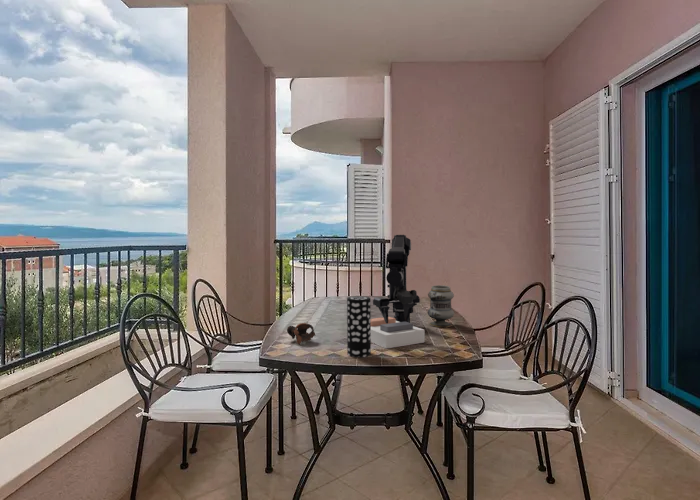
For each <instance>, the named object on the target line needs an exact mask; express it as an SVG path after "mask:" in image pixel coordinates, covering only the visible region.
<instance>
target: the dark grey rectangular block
mask: <svg viewBox="0 0 700 500" xmlns="http://www.w3.org/2000/svg"><path fill="white" fill-rule="evenodd" d="M413 326H414V323H412V322H410V323H409V322H398V323H390V324H382V325H380V330H381V331H384V332H387V333H388V332H395V331H402V330H410V329H413Z"/></svg>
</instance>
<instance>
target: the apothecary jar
mask: <svg viewBox="0 0 700 500" xmlns="http://www.w3.org/2000/svg"><path fill="white" fill-rule="evenodd" d="M427 296H428V299H430V307H429V309H427V316H429V318H431V319H432V320H433V321H432V322H430V323H429V325H430V326H432V327H436V328H449V327H452V324H451V323H450V322H448V321H447V320H450V319H451V318H453V317H454V315H455V311H454V310H453V309H452V299H453V298H454V297H455V293H454V292H453V291H452V290H451V286H449V285H443V284H441V285H433V286H431V289H430V290H429V291H428V292H427Z"/></svg>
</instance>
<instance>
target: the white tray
mask: <svg viewBox="0 0 700 500" xmlns="http://www.w3.org/2000/svg"><path fill="white" fill-rule="evenodd" d="M398 322H399V321H396V323H398ZM374 343H375V344H374ZM422 343H425V329H423V328H420V327H417V326H414V325H413V329H410V330H402V331H395V332H388V333H387V332H384V331H381V330H380V325H379V326H371V344H374V345H377V346H379V347H382V348H384V349H391V348H392V349H393V348H398V347H403V346H404V347H405V346H410V345H415V344H422Z"/></svg>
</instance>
